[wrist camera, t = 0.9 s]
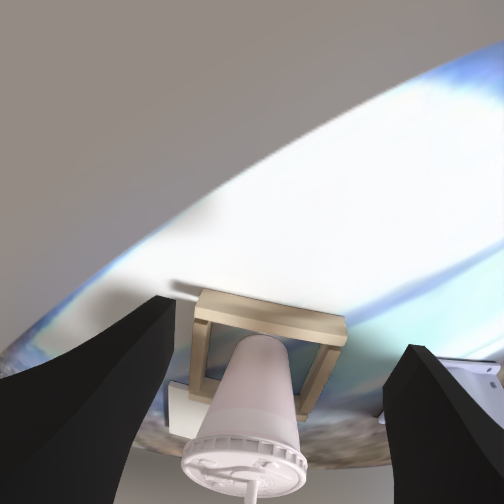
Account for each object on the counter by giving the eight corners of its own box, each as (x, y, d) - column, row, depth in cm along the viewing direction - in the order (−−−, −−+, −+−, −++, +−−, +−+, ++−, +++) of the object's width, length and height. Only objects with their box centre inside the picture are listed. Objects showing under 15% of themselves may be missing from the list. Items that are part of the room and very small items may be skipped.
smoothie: (305, 384, 22) (299, 563, 10) (221, 382, 23) (178, 550, 11) (309, 318, 20) (309, 545, 7) (209, 317, 20) (135, 521, 8)
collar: (344, 316, 19) (348, 336, 18) (305, 402, 23) (305, 422, 21) (203, 288, 20) (195, 306, 18) (194, 380, 24) (188, 399, 22)
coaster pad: (266, 402, 24) (266, 408, 23) (249, 446, 27) (249, 451, 27) (170, 380, 24) (168, 385, 23) (171, 428, 27) (169, 432, 27)
